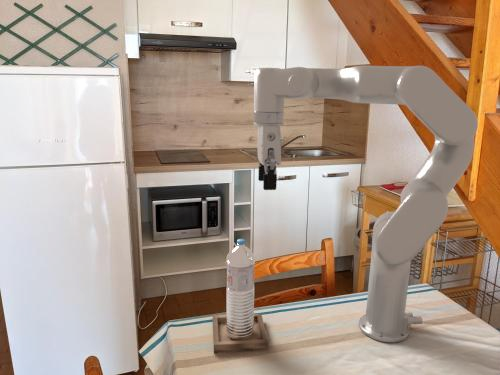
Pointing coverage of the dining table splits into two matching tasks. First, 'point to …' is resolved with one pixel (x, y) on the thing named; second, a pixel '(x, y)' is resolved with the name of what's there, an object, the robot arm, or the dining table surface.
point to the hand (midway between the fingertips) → (266, 184)
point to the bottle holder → (230, 345)
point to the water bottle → (240, 292)
